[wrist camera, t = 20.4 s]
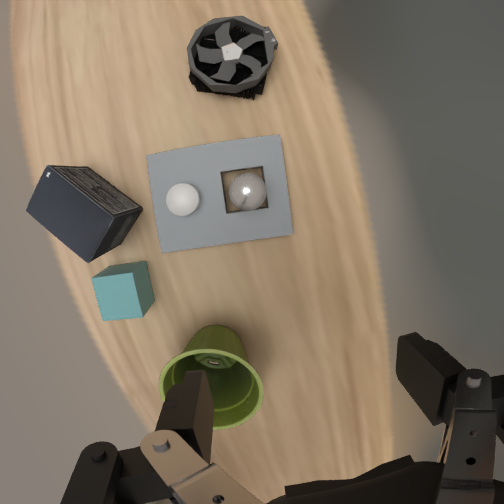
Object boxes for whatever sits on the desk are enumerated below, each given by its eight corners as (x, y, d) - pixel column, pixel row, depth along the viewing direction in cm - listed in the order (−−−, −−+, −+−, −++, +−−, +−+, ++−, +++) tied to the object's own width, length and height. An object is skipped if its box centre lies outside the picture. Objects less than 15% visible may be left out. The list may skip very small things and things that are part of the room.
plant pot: (162, 321, 43) (141, 361, 32) (244, 299, 43) (246, 336, 32) (192, 388, 46) (182, 437, 35) (267, 370, 45) (275, 418, 34)
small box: (64, 204, 39) (22, 211, 29) (87, 164, 38) (46, 161, 28) (119, 248, 41) (86, 266, 31) (144, 208, 40) (115, 215, 30)
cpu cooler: (177, 80, 32) (197, 10, 30) (185, 94, 37) (202, 29, 36) (268, 94, 33) (283, 22, 31) (264, 106, 38) (277, 40, 36)
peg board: (289, 230, 41) (296, 237, 36) (166, 248, 41) (156, 257, 36) (277, 138, 39) (282, 130, 34) (152, 157, 39) (140, 153, 33)
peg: (260, 200, 40) (270, 206, 31) (232, 206, 40) (233, 214, 31) (255, 172, 40) (262, 169, 30) (226, 178, 40) (225, 177, 30)
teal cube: (146, 260, 41) (132, 272, 36) (154, 300, 43) (142, 317, 37) (109, 266, 41) (91, 278, 35) (118, 304, 42) (102, 320, 37)
